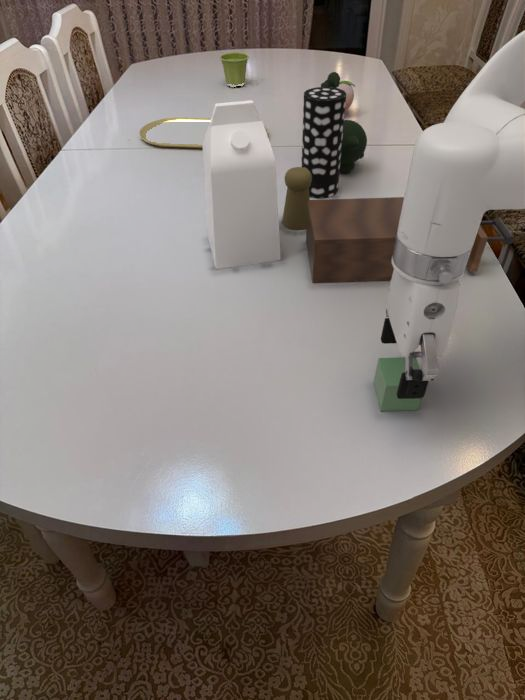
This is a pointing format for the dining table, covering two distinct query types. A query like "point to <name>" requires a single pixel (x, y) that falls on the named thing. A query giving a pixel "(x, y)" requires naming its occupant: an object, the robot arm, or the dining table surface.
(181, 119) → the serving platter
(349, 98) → the decorative fruit
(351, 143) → the toy figurine
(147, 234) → the dining table surface
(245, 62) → the plant pot
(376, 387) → the block
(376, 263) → the cabinet
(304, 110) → the spotted tube
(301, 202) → the olive pawn
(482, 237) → the drawer
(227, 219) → the milk
